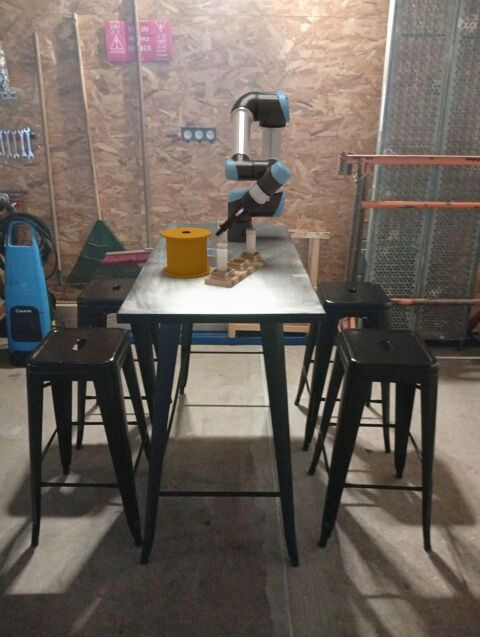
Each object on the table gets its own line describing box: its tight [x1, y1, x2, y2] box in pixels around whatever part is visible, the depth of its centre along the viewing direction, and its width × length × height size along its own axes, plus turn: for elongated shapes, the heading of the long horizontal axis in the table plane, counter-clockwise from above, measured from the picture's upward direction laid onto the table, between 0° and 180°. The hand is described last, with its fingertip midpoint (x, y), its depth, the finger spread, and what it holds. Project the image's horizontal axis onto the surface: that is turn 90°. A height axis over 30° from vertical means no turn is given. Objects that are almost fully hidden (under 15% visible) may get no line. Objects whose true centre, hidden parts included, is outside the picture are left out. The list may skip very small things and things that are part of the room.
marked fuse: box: [217, 219, 229, 252], centre depth 188 cm, size 4×4×12 cm
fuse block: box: [204, 250, 267, 288], centre depth 180 cm, size 34×10×4 cm, turn 156°
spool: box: [161, 227, 212, 279], centre depth 179 cm, size 18×18×15 cm
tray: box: [207, 247, 234, 268], centre depth 193 cm, size 11×11×4 cm
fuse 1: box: [216, 241, 229, 273], centre depth 167 cm, size 4×4×12 cm
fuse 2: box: [245, 227, 257, 256], centre depth 189 cm, size 4×4×12 cm
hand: (213, 239), depth 189 cm, fingers open, 4 cm apart
